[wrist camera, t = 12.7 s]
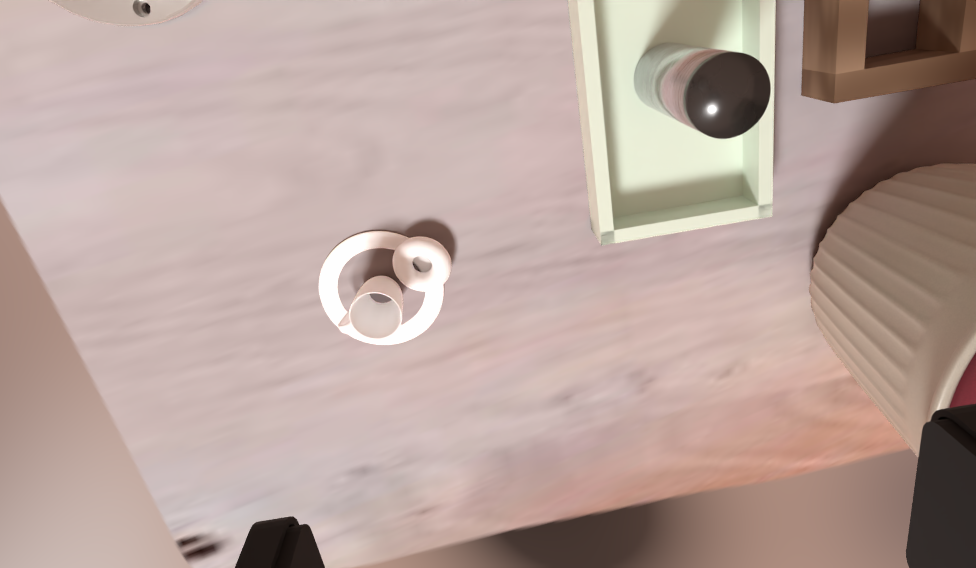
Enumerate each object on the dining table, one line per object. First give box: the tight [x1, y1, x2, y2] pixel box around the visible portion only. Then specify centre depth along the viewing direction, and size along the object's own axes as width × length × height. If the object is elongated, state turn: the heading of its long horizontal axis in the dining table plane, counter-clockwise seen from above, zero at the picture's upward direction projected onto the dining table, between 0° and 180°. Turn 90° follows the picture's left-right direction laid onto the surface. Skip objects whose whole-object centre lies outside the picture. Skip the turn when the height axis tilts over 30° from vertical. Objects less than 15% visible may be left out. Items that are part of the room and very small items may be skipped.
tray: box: [568, 0, 776, 245], centre depth 35 cm, size 17×10×3 cm, turn 9°
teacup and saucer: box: [319, 231, 451, 345], centre depth 39 cm, size 9×8×4 cm
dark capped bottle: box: [634, 43, 771, 139], centre depth 31 cm, size 4×4×9 cm
